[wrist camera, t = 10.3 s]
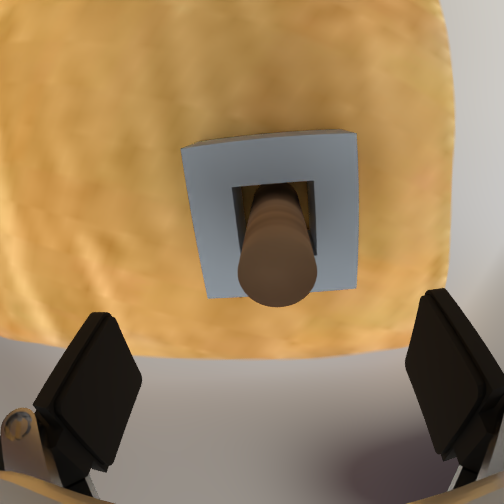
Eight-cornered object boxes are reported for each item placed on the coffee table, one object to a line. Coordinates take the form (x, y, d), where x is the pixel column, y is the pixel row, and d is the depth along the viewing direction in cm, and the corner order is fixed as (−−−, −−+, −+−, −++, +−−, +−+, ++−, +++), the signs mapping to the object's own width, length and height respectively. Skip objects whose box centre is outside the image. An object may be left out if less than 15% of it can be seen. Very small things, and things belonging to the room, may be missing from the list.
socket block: (198, 141, 23) (180, 148, 19) (340, 129, 22) (356, 133, 18) (218, 267, 28) (207, 298, 23) (343, 258, 27) (356, 288, 22)
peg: (250, 181, 25) (232, 240, 14) (296, 177, 24) (316, 233, 13) (255, 224, 26) (242, 309, 15) (299, 220, 26) (317, 304, 15)
